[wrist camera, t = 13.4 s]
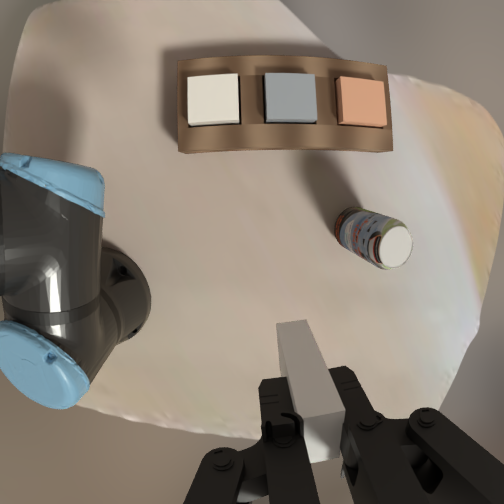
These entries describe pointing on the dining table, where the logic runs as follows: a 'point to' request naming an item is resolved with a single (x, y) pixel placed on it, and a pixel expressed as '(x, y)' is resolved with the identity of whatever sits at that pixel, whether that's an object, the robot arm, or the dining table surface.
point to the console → (253, 115)
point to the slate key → (289, 98)
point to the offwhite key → (213, 100)
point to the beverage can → (374, 237)
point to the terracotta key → (360, 102)
